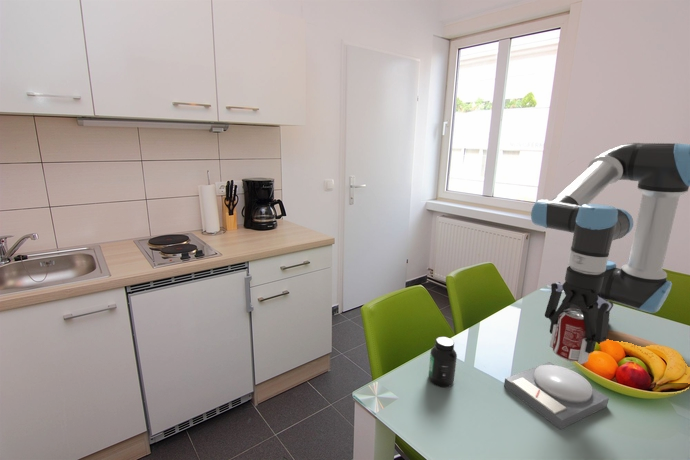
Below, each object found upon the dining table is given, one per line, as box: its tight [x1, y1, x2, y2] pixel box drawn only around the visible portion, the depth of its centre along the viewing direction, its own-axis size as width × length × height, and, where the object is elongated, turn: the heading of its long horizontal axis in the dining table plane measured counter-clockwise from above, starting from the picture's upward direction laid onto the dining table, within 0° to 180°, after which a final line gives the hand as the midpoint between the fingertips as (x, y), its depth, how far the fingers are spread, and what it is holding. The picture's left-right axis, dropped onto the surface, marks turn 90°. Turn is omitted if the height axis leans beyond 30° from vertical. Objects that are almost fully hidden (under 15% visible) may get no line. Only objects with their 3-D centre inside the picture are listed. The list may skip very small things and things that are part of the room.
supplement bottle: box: [428, 336, 458, 388], centre depth 96 cm, size 7×7×12 cm
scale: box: [503, 361, 610, 430], centre depth 92 cm, size 18×16×4 cm
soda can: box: [552, 308, 586, 362], centre depth 89 cm, size 7×7×12 cm
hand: (567, 353), depth 90 cm, fingers closed on soda can, 7 cm apart
